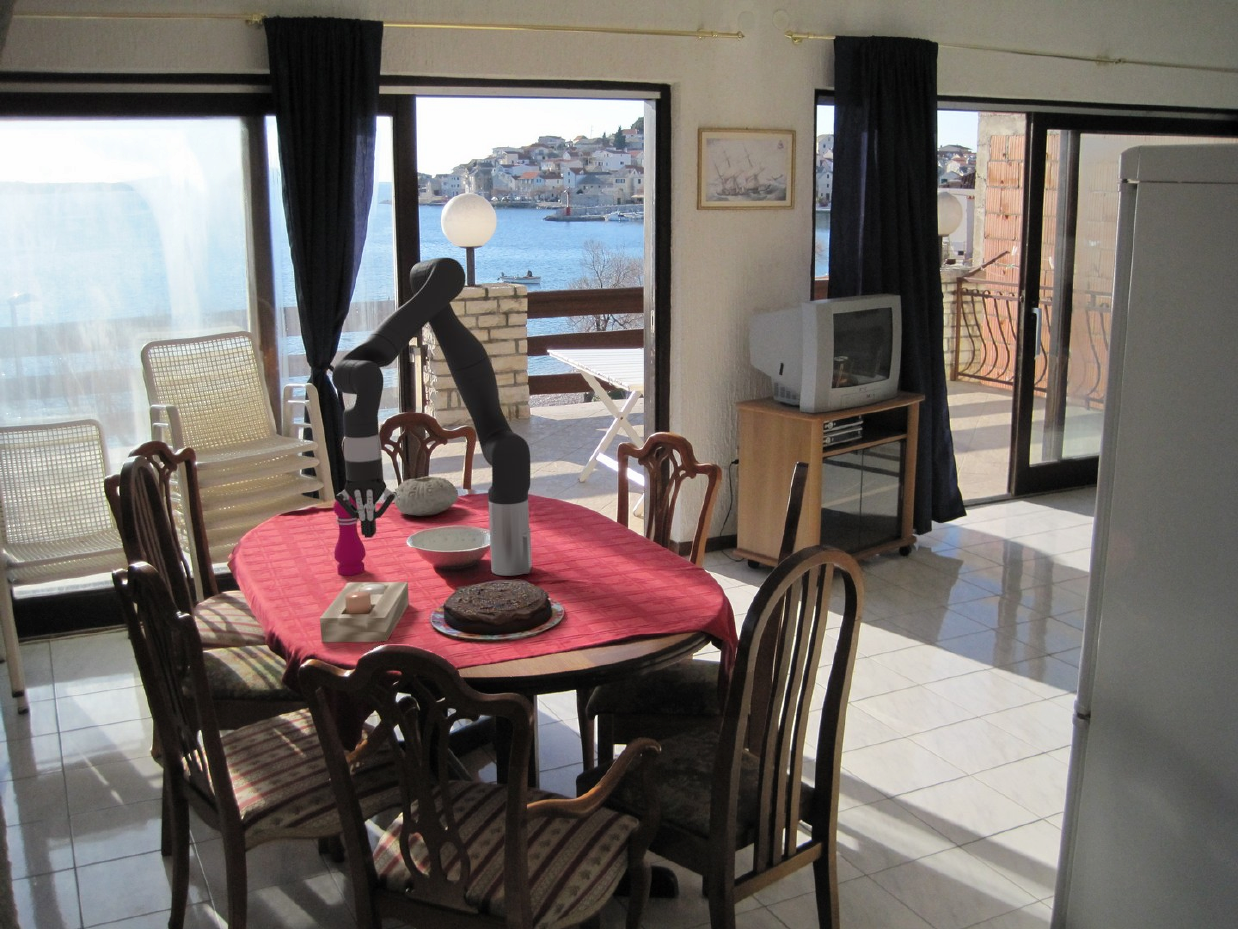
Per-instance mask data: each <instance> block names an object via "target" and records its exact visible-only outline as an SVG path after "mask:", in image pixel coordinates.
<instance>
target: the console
mask: <svg viewBox="0 0 1238 929" xmlns="http://www.w3.org/2000/svg"><path fill="white" fill-rule="evenodd" d="M370 584H380V585H383V586H384V590H385V592H384V594H370V599H371V612H369V613H367V614H347V613H346V605H345V595H346V594H348V593H351V592H356V591H360V588H361V587H363V586H365V585H370ZM409 605H410V597H409V582H408V581H398V582H397V581H389V582H387V581H386V582H385V581H383V582H379V581H378V582H377V581H376V582H374V581H371V582H367V581H366V582H362V581H361V582H359V581H358V582H347V583H346V584H345V586H344V587H343V588H342V589H341V591H340V592H339V593H338V595H337V596H336V597H335V598H334V600H333V601H332V602H331V603H330V605H329V606H328V607H327V609H326V610H325V611H324V612H323V614H321V616H320V617H319V623H320V624H319V625H320V626H319V627H320V637H321V642H322V643H344V642H345V643H346V642H347V643H350V642H351V643H352V642H353V643H359V642H360V643H361V642H362V643H363V642H364V643H366V642H367V643H369V642H370V643H371V642H373V643H376V642H377V643H379V642H381V641H385V642H387V641H388V640H389V638H390V636H391V635H392V633H393V632H394V630H395V628H396V626H397V625H398V623H399V622H400V620H401V618H402V617H403V616H404V613H405V611H406V610H407V608H408V606H409ZM374 641H375V642H374ZM381 643H382V642H381Z"/></svg>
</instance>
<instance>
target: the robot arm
mask: <svg viewBox="0 0 1238 929" xmlns="http://www.w3.org/2000/svg"><path fill="white" fill-rule="evenodd" d="M409 283H410V287H411V291H412V294H413V297H411V299H409V300H408V301H406V302H405V303H404V304H403V305H401V306H400V307H398V308H397V309H396V310H394V311H393V312H392V313H391V314H389V315H388V316H386V317H385V318H384V319H383V320H382V321H381V322H380V323H379V324H378V325H377V327H376V328H375V329H373V331H372V332H371V334H370V335H369V336H368V337H367V338H366V340H365V341H364V342H362V343H361V344H359V345H357V346H356V347H354V348H353V349H352V350H350V351H349V352H348V353H347V354H345V355H344V356H342V357H341V358H340V359H339V361H338V362H336V364H335V366H334V367H333V371H332V374H331V381H332V384H333V387H334V388H335V389H336V390H337V391H338V392H341V393H343V394H346V395H347V394H348V395H356V398H355V403H354V404H353V405H351V406H348V407H346V408H345V409H344V410H343V413H342V414H343V415H342V422H343V434H344V442H343V457H344V465H345V466H344V467H345V478H346V483H345V485H344V489H343V490H344V491H343V490H342V491H341V492H338V493H337V494H336V496H335V501H336V500H337V501H338V503H339V504H340V505H341V506H342V507H343V508H344V509H345V510H346V512H347V513H348V514H349V515H350V516H351V517H352V518H357V519H358V520H359V521H360V531H361V535H362V536H364V538H365V539H366V538H367V539H368V538H373V537H374V535H375V534H376V532H377V523H376V522H377V520H376V519H378V518H381V517H382V516H383V515H384V513H385V512H386V511H387V510H388V509H389V507H390V506H391V504H392V503H393V502H394V499H395V497H396V496H397V493H396V492H395V491H392V490H390V489H388V488H387V484H386V482H385V479H384V469H383V468H384V467H383V466H384V465H383V455H382V442H381V438H380V437H381V436H380V429H379V417H378V416H379V410H380V406H381V400H382V395H383V390H384V375H383V372H382V370H381V368H385V367H388V366H390V365H391V364H392V363H393V362H394V361H395V360H396V359H397V358H398V356H399V355H400V354H401V353H402V352H403V350H404V349H405V348H406V347H407V345H408V344H409V343H410V342H411V341H412V339H414V337H415V336H416V335H417V334H418V333H419V331H421V330H422V329H423V328H424V326H426V324H429V326H430V328H431V330H432V332H433V334H434V336H435V338H436V341H437V343H438V345H439V347H440V349H441V350H440V351H441V352H442V354H443V358H444V360H445V362H446V364H447V367H448V370H449V373H450V376H451V378H452V379H453V382H454V384H455V387H456V388H457V390H458V393H459V396H460V397H461V399H462V401H463V404H464V406H465V407H466V409H467V411H468V413H469V415H470V418H471V420H472V422H473V426H474V429H475V433H476V436H477V439H478V442H479V446H480V449H481V454H482V456H483V457H484V459H485V461H486V462H487V463H488V464H489V465H490V466H491V479H492V480H491V486H490V487H489V488H488V490H487V497H488V498H487V499H488V524H489V545H490V566H491V571H490V572H492V573H493V574H495V575H496V576H497V575H498V576H506V577H507V576H510V577H511V576H519V575H523V574H526V575H527V574H530V572H531V569H532V565H533V564H532V563H533V562H532V538H531V537H532V536H531V533H532V532H531V527H530V519H529V518H530V517H529V516H530V515H529V491H530V488H531V452H530V447H529V444H528V442H527V440H526V439H524V438H523V437H522V436H520V435H518V433H515V432H514V431H513V430H512V428H511V426H510V424H509V423H508V421H507V417H506V416H505V415H504V412H503V410H502V407H501V404H500V399H499V398H500V397H499V389H498V382H497V377H496V374H495V373H496V372H495V371H494V367H493V365H492V362H491V361H490V358H489V355H488V353H487V350H486V348H485V346H484V345H483V343H482V342H480V339H478V337H476V335H474V334H473V333H472V332H471V331H470V329H469V328H467V327H466V325H465V324H464V323H463V322H461V320H460V319H459V317H458V316H457V314H456V313H455V311H454V309H453V306H452V304H451V302H452V301H453V300H455V299H456V298H457V297H458V296H460V294H461V293H462V291H463V290H464V288H465V284H466V272H465V269H464V267H463V266H462V265H461V263H460V262H459V261H458V260H457V259H454V258H451V257H438V258H432V259H428V260H423V261H420V262H417V263H415V264H414V265H413V267H412V268H411V270H410V274H409ZM348 495H349V496H350V497H351V498H352V499H353V501H354V502H355V503H357V508H356V507H355V506H354V505H353V504H352V503H351V502H350V500H349V496H348ZM383 495H384V496H383ZM382 496H383V500H384V502H383V503H382V504H381V506H380V508H379V509H378V510H377V502H379V500H380V499H381V497H382Z"/></svg>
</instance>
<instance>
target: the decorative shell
mask: <svg viewBox="0 0 1238 929" xmlns="http://www.w3.org/2000/svg"><path fill="white" fill-rule="evenodd" d="M394 492H396V493H397V496H396V497H395V499H394V500H393V502H394V504H395V506H396V508H397V510H399V511H400V512H401V513H402V514H404V515H409V516H418V517H423V516H426V517H427V516H434V515H437V514H439V513H442V512H445V511H446V510H448V509H449V508H451V507H452V506H454V504H456V502H457V501H458V498H459V490H458V489H457V488H456V487H455V485H454V484H453V483H452V482H451V481H449V480H448V479H446V478H444V477H437V476H430V475H427V476H421V477H418V478H410V479H406V480H404V481H401V483H400V484H399V485H398V487H396V488H394Z"/></svg>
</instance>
